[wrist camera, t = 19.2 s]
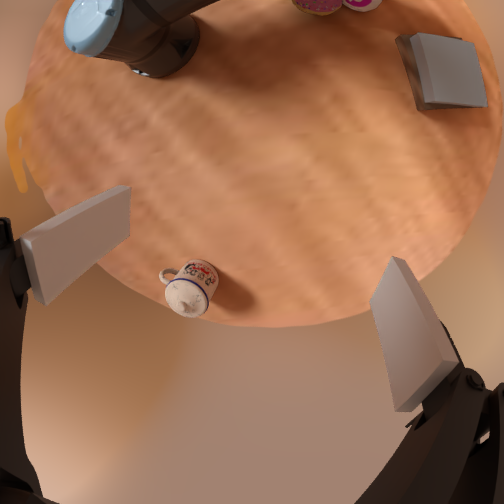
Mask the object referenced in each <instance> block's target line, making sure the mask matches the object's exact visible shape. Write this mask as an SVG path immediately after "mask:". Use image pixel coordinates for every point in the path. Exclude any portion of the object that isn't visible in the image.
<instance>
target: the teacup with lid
mask: <svg viewBox="0 0 504 504" xmlns="http://www.w3.org/2000/svg"><path fill="white" fill-rule="evenodd" d="M166 273H172V274H175V275H176V276H175V278H174V279H173V280H172V281H170V280H168V279H167V278H165V277H164V274H166ZM159 278H160V280H161V281H162V282H163V283H164V284H166V285H167V287H166V290H165V296H166V300H167V302H168V304H169V306H170V307H171V308H172V309H173V310H174V311H175V312H177V313H178V314H180V315H182V316H185V317H190V318H191V317H192V318H193V317H198V316H201V315H202V314H204V313H205V312H206V310H207V308H208V305H209V302H210V300H211V298H212V296H213V294H214V292H215V290H216V288H217V286H218V282H219V278H218V274H217V272H216V270H215V269H214V268H213V267H212V266H211V265H210V264H209V263H207V262H205V261H202V260H191V261H188V262H187V263H186V264H185V265H184V266H183V267H182V269H181V270H180V271H179V270H177V269H174V268H165V269H163V270H162V271H161V272H160V274H159Z"/></svg>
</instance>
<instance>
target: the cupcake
mask: <svg viewBox="0 0 504 504" xmlns="http://www.w3.org/2000/svg"><path fill="white" fill-rule="evenodd" d="M292 2H293V4H294V5H295V6H296V7H297V8H298V9H299V10H301V11H303V12H306V13H310V14H317V15H321V16H324V15H329V14H331V13H333V12H335V11H336V10H338V9H339V8H340V7H341V6H342V0H292Z"/></svg>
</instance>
